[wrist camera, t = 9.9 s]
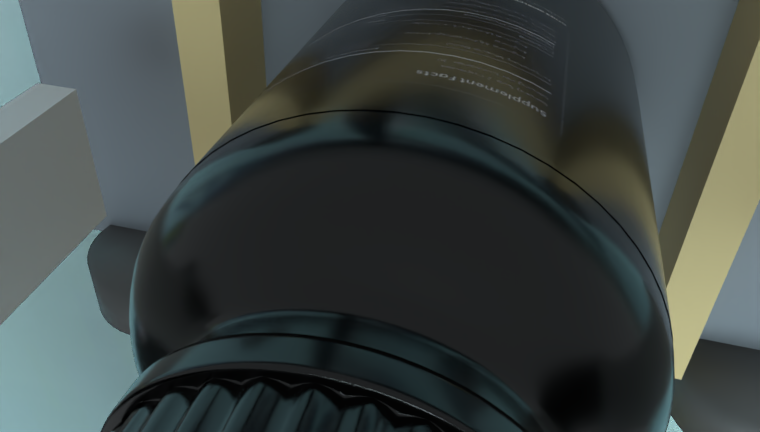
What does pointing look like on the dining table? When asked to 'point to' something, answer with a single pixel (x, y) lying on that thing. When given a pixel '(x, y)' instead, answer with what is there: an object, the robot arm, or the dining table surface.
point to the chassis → (298, 25)
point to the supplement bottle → (415, 239)
